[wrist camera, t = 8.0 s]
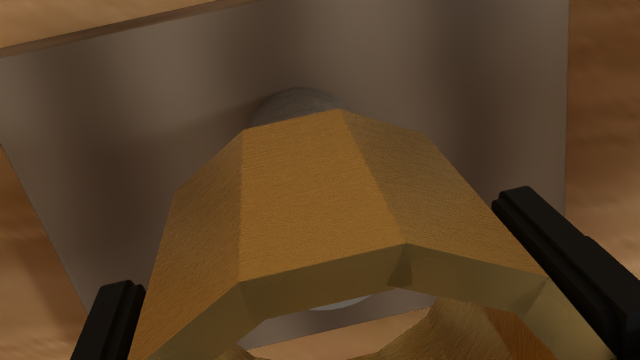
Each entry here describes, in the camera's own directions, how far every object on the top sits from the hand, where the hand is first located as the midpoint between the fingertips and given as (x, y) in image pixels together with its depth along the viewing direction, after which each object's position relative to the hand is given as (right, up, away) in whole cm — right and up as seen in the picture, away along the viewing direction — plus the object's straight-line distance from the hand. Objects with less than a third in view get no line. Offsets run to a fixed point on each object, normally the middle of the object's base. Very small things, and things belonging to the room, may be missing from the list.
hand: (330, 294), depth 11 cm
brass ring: (0, 0, +1) cm, 1 cm away
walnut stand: (-1, +3, +12) cm, 12 cm away
